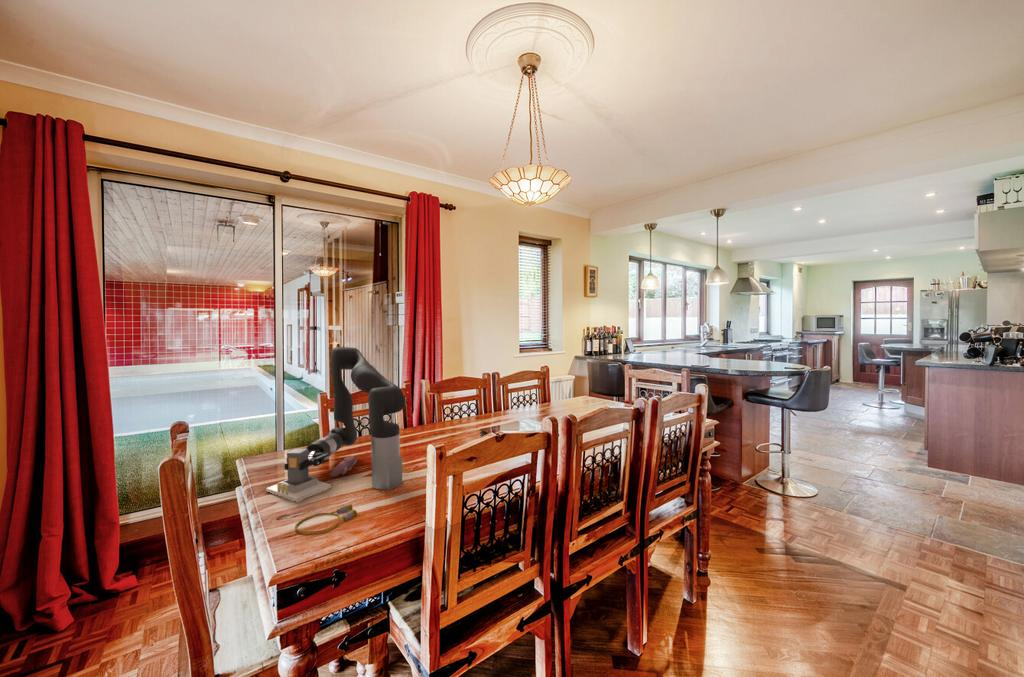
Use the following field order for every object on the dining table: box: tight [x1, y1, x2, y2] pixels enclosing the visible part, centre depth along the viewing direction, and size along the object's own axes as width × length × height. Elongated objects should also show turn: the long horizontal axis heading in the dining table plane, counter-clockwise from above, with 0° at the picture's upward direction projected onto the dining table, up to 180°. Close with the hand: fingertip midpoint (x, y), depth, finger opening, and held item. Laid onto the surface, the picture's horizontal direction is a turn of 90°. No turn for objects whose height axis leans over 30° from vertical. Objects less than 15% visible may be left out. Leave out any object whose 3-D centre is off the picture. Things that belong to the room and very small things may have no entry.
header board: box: [265, 475, 332, 503], centre depth 134 cm, size 16×12×4 cm
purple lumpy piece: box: [329, 455, 358, 478], centre depth 149 cm, size 10×5×7 cm, turn 169°
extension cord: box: [294, 504, 358, 535], centre depth 113 cm, size 12×16×2 cm
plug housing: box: [286, 448, 310, 486], centre depth 134 cm, size 4×5×11 cm
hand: (293, 467), depth 131 cm, fingers closed on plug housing, 4 cm apart
